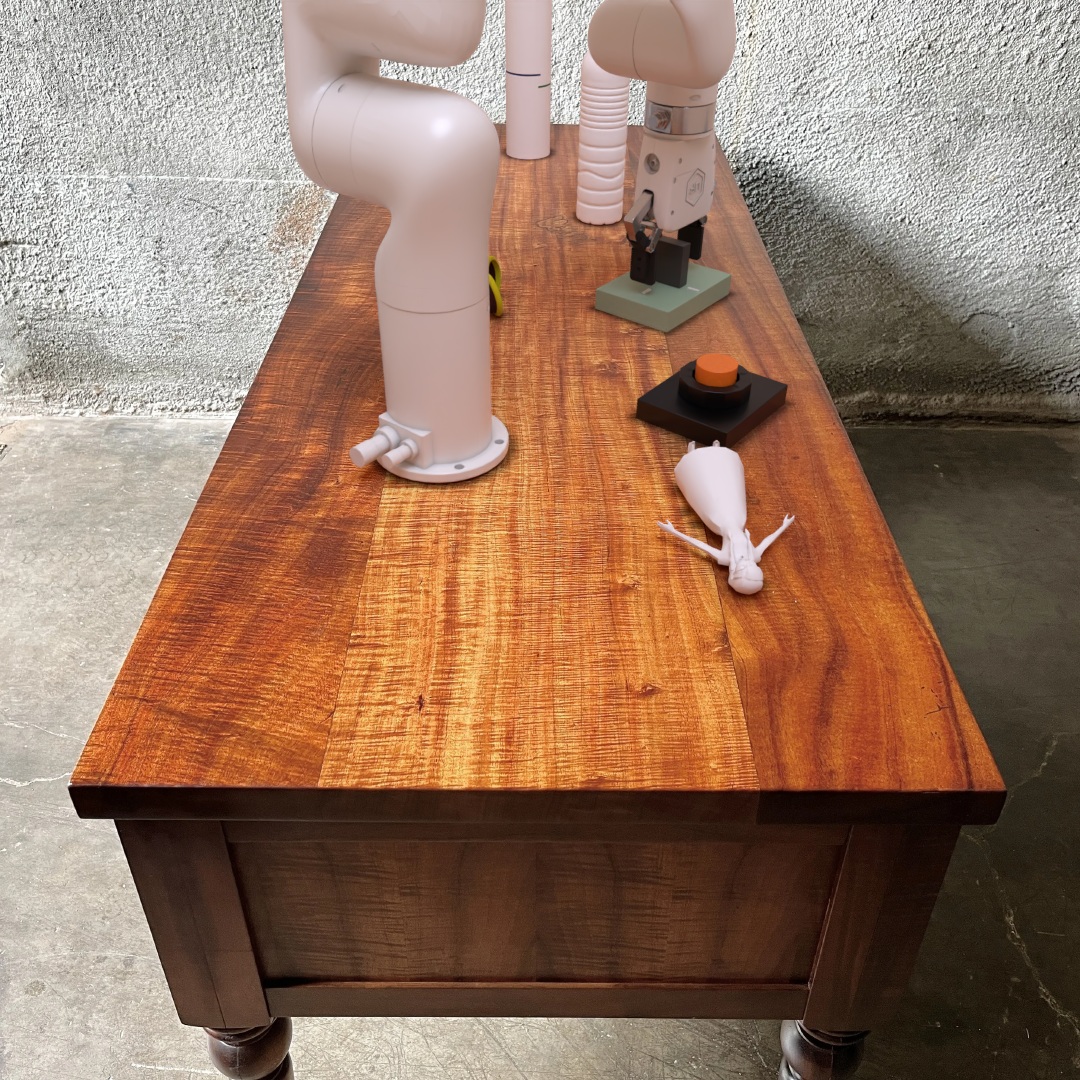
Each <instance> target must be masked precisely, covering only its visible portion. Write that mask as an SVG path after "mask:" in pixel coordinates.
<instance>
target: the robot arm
mask: <svg viewBox="0 0 1080 1080" xmlns="http://www.w3.org/2000/svg"><path fill="white" fill-rule="evenodd" d="M486 11H487V0H281V18H282V20H281V22H282V37H283V38H282V39H283V57H284V58H283V59H284V76H285V91H286V92H285V93H286V94H285V95H286V108H287V121H288V123H287V124H288V132H289V138H290V144H291V147H292V151H293V154H294V158H295V160H296V162H297V164H298V166H299V168H300V169H301V171H302V172H303V173H304V175H305V176H306V177H307V178H308V179H309V180H310V181H311V182H312V183H313V184H315V185H317V186H318V187H320V188H322V189H324V190H326V191H329V192H332V193H333V194H338V195H342V196H343V197H344V196H345V197H348V198H351V199H356V200H359V201H363V202H365V203H370V204H373V205H375V206H377V207H381V208H384V209H386V210H388V211H389V212H390V216H391V217H390V223H389V227H388V229H387V231H386V233H385V235H384V237H383V238H382V241H380V245H379V247H378V249H377V252H376V255H375V259H374V287H375V288H374V289H375V294H376V305H377V316H378V327H379V338H380V339H379V340H380V349H381V351H380V352H381V362H382V372H383V383H384V394H385V406H386V407H385V408H386V411H385V412H383V413H381V414H379V415H378V425H379V426H378V427H377V428H376V429H375V431H374V433H373V434H372V435H373V436H372V437H370V438H368V439H366V440H364V441H361V442H360V443H358V444H356V445H354V446H353V447H351V448H350V449H349V451H348V453H349V458H350V460H351V462H352V463H353V464H354V466H356V467H357V468H360V469H362V468H365V467H366V466H367V465H369V464H371V463H373V462H374V461H377V463H378V464H379V465H380V466H381V467H382V468H383V469H385V470H386V471H388V472H390V473H391V474H392V475H393V474H394V475H396V476H398V477H400V478H402V479H407V480H410V481H414V482H421V483H432V484H434V483H435V484H441V483H442V484H443V483H454V482H460V481H465V480H469V479H472V478H475V477H478V476H480V475H483V474H485V473H487V472H489V471H490V470H492V469H494V468H495V467H497V466H498V465H499V464H500V463H501V462H502V461H503V460H504V459H505V457H506V456H507V454H508V450H509V447H510V438H509V437H510V434H509V432H508V429H507V427H506V426H505V424H504V423H503V421H501V420H500V419H499V418H498V417H497V416H495V415H494V414H493V413H492V410H493V409H492V407H493V406H492V358H491V356H492V355H491V314H490V301H489V255H490V232H491V231H490V230H491V221H492V213H493V205H494V198H495V193H496V188H497V182H498V177H499V171H500V163H501V145H500V139H499V134H498V131H497V129H496V126H495V124H494V123H493V121H492V119H491V117H490V116H489V114H488V113H487V112H486V111H485V110H484V109H483V108H482V107H480V105H478V104H477V103H475V101H473V100H471V99H470V98H468V97H466V96H464V95H462V94H459V93H457V92H454V91H453V90H448V89H445V88H441V87H437V86H432V85H428V84H423V83H419V82H418V83H417V82H412V81H408V80H403V79H393V78H389V77H384V76H381V75H380V71H381V69H380V68H381V60H383V61H389V62H394V63H399V64H405V65H409V66H418V67H426V68H437V69H440V68H441V69H442V68H443V69H444V68H451V67H457V66H458V65H461V64H462V63H465V62H466V61H468V60H469V59H470V58H471V57H472V56H473V55H474V53H475V52H476V51H477V49H478V47H479V45H480V42H481V40H482V37H483V33H484V27H485V22H486V14H487V13H486ZM735 12H736V11H735V5H734V0H604V1H603V2H601V3H600V5H599V6H598V7H597V8H596V10H594V13H593V15H592V17H591V18H590V22H589V24H588V30H587V38H586V39H587V40H586V41H587V47H588V50H589V52H590V54H591V56H592V58H593V60H594V61H595V63H596V64H597V65H598V66H599V67H600V68H601V69H603V70H604V71H606V72H608V73H611V74H613V75H616V76H621V77H625V78H630V80H631V79H632V80H638V81H643V82H646V86H645V87H646V88H645V99H644V100H645V101H644V116H643V128H642V129H643V132H645V133H643V139H642V142H641V147H640V152H639V158H638V162H637V163H638V164H637V170H636V179H635V187H634V199H633V206H631V208H630V209H629V210H628V212H627V213H626V214H625V216H624V217H623V225H624V230H625V232H626V233H625V237H626V240H627V241H628V246H629V248H631V253H630V267H629V271H630V279H631V280H633V281H637V282H640V283H643V284H646V285H649V286H652V285H654V284H655V282H656V271H657V259H658V251H656V250H654V249H655V247H656V245H657V243H658V240H659V238H660V236H661V234H662V235H663V232H664V233H667V234H672V233H675V232H676V231H677V237H676V239H678V240H681V241H685V242H688V243H691V244H690V254H689V260H693V261H698V260H700V259H701V258H702V251H703V243H704V233H705V225H706V224H707V223H708V214H709V213H710V212H711V210H712V208H713V201H714V192H715V189H716V186H717V180H716V153H717V151H716V150H717V149H716V148H717V146H716V145H717V144H716V130H715V121H716V120H715V119H716V110H717V99H718V90H719V89H718V88H719V83H720V82H721V81H722V80H723V79H724V77H725V76H726V75H727V73H728V71H729V70H730V68H731V65H732V62H733V59H734V55H735V51H736V44H737V24H736V23H737V22H736V13H735ZM654 220H655V221H654ZM645 230H650V231H651V233H650V234H651V235H650V237H649V239H648V237H647V236H648V235H646V233H645Z"/></svg>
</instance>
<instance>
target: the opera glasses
mask: <svg viewBox="0 0 1080 1080" xmlns="http://www.w3.org/2000/svg"><path fill="white" fill-rule="evenodd" d="M501 288H502V270H501V265H500V263H499V261H498V259H497V258H496V257H495V256H494V255H492V254H491V255H490V254H489V301H490V315H491V314H494V315H495V316H496V317H500V316H502V314H503V312H504V303H503V299H502V295H501Z"/></svg>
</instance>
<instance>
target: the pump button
mask: <svg viewBox="0 0 1080 1080" xmlns="http://www.w3.org/2000/svg"><path fill="white" fill-rule="evenodd" d="M697 358H698V359H697ZM697 358H696V359H697V361H696V370H695V379H696V381H697V382H699V383H702V384H704V385H707V386H716V387H725V386H730V385H733V384H735V382H736V378H737V371H738V364H739V362H738V361H737V360H736V359H735V358H734V357H732V356H731V355H727V354H723V353H716V352H713V353H705V354H702V355H700V356H699V357H697Z"/></svg>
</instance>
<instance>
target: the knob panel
mask: <svg viewBox="0 0 1080 1080" xmlns="http://www.w3.org/2000/svg"><path fill="white" fill-rule="evenodd" d="M732 277H733V276H732V274H731V273H729V272H726V271H721V270H718V269H716V268H711V267H708V266H705V265H701V264H698V263H694V262H692V261H691V262H690V261H689V264H688V274H687V284H686V285H684V286H683V287H681V288H676V287H673V286H670V285H666V284H663V283H660V282H657V281H656V282H655V284H654V285H652V286H649V285H646V284H643V283H640V282H637V281H633V280H631V279H630V270H629V271H627V272H625V273H623V274H621V275H619V276H618V277H616V278H614V279H612V280H610V281H608V282H606V283H605V284H602V285H601V286H599V287H597V288H596V289H595V299H594V301H595V303H594V309H595V310H597V311H600V312H603V313H606V314H610V315H612V316H614V317H615V316H616V317H619V318H622V319H625V320H627V321H631V322H634V323H637V324H639V325H643V326H645V327H648V328H652V329H654V330H658V331H661V332H664V333H669V332H671V331H672V330H674V329H675V328H676V327H678V326H680V325H681V324H683V323H684V322H686V321H688V320H689V319H691V318H693V317H694V316H695V315H697V314H699V313H701V312H702V311H703V310H706V309H707V308H709V307H711V306H712V305H713V304H715V303H716V302H718V301H720V300H721V299H723V298H724V297H726V296H728V295H730V290H731V284H732Z"/></svg>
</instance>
